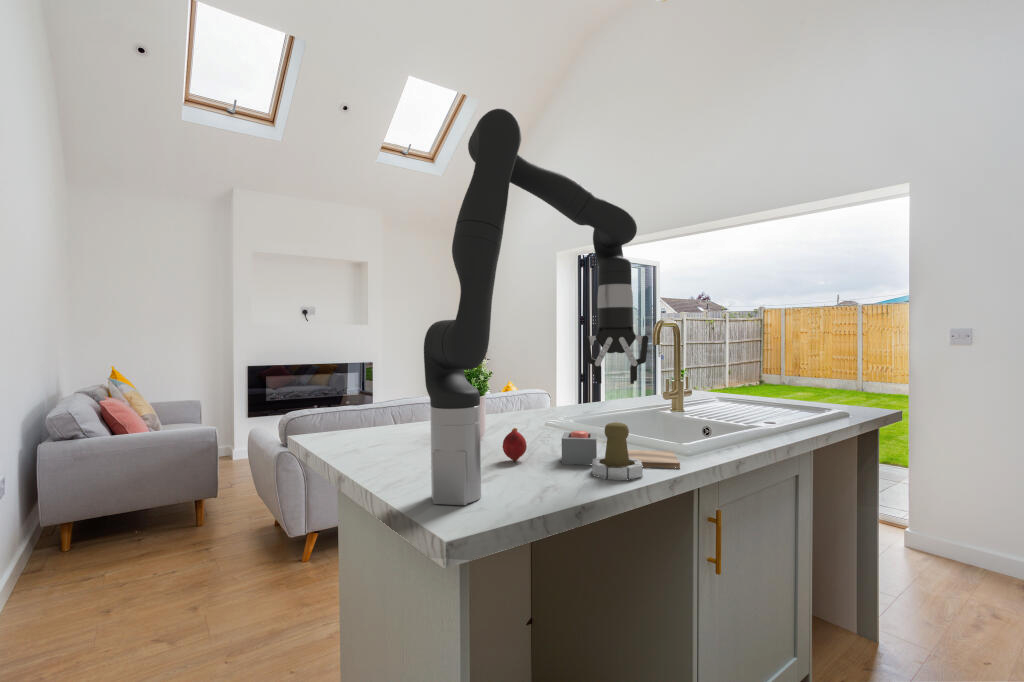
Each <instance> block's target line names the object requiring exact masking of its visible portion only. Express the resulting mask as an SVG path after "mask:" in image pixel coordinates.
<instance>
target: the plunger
mask: <svg viewBox="0 0 1024 682" xmlns="http://www.w3.org/2000/svg"><path fill="white" fill-rule="evenodd" d="M570 432H571V438H588V433H589V432H588V431H587V430H586V431H583V430H573V431H570Z"/></svg>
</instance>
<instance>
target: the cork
mask: <svg viewBox="0 0 1024 682" xmlns="http://www.w3.org/2000/svg"><path fill="white" fill-rule="evenodd" d="M629 434H630V429H629V427H628V425H627V424H626V423H623V422H617V421H615V422H609V423H607V424H606V425H605V426H604V436H605V437H606V438H607V439H606V445H605V446H606V447H605V454H604V456H605V461H604V465H608V466H624V467H625V466H630V463H629V455H628V450H629V448H628V442H627V439H628V437H629Z"/></svg>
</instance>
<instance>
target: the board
mask: <svg viewBox="0 0 1024 682" xmlns="http://www.w3.org/2000/svg"><path fill="white" fill-rule="evenodd" d="M628 455H629V457H630V458H634V459H638V460H640V461H641V462H642V466H643V467H642V468H649V467H663V468H662V469H681V463H680V461H679V460H678V457H677V456H676V455H675V453H674V451H671V450H646V449H645V450H639V449H628ZM675 467H676V468H675Z"/></svg>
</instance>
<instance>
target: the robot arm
mask: <svg viewBox="0 0 1024 682" xmlns="http://www.w3.org/2000/svg"><path fill="white" fill-rule="evenodd" d="M521 143H522V130H521V125H520V124H519V121H518V119H517V117H516V116H515V115H514V114H513V113H512V112H511V111H510V110H507V109H504V108H495V109H491V110H489V111H488V112H486V113H485V114H484V115H483V116H481V118H480V119H479V120H478V122H477V123H476V126H475V128H474V129H473V131H472V133H471V136H470V137H469V140H468V143H467V149H468V153H469V156H470V158H471V159H472V161H473V163H474V167H473V168H474V169H473V173H472V176H471V179H470V182H469V184H468V187H467V190H466V192H465V194H464V197H463V200H462V204H461V206H460V208H459V212H458V215H457V219H456V223H455V227H454V233H453V237H452V238H453V239H452V243H451V244H452V245H451V255H452V257H451V258H452V260H453V265H454V267H455V271H456V274H457V276H458V277H457V278H458V280H459V287H460V288H459V289H460V297H459V301H458V302H459V303H458V309H457V313H456V316H455V319H444V320H439V321H436V322H434V323H432V324H431V325H430V326H429V327H428V329H427V331H426V334H425V335H424V336H425V337H424V341H423V362H424V363H423V364H424V381H425V388H426V391H427V395H428V397H429V401H430V402H429V404H430V463H431V464H430V469H431V471H430V477H431V478H430V479H431V500H432V504H434V505H447V506H448V505H453V506H467V505H468V504H470V503H473V502H475V501H478V500H480V499H481V497H482V468H481V467H482V466H481V464H482V462H481V458H482V457H481V397H480V395H481V394H480V391H479V389H478V388H476V387H475V386H473V385H472V384H471V383H470V382H469V381H468V379H467V377H466V375H465V370H466V371H467V370H473V369H476V368H477V367H479V366H480V365H481V364H482V363H483V361H484V360H485V358H486V355H487V353H488V350H489V349H488V348H489V344H490V335H491V334H490V332H491V319H492V308H493V307H492V305H493V295H494V287H495V281H496V274H497V268H498V267H497V266H498V261H499V258H500V253H501V247H502V241H503V235H504V228H505V221H506V215H507V214H506V213H507V207H508V199H509V189H510V183H511V184H512V185H514V186H516V187H518V188H521V189H522V190H524V191H526V192H527V193H530V194H531V195H533V196H534V197H537V198H539V199H540V200H542V201H543V202H545V203H546V204H548V205H549V206H551V207H553V209H555V210H556V211H557V212H558V213H560V214H561V215H563V216H564V217H566V218H568V219H569V220H570V221H571V222H573V223H575V224H576V225H579V226H588V227H589V226H590V227H591V228H593V232H592V233H593V234H592V244H593V250H594V255H595V259H596V262H597V266H598V273H597V275H598V290H597V303H596V304H597V305H596V306H597V332H596V335H590V336H588V335H585V336H584V337H583V344H584V352H585V361H586V364H590V365H592V366H593V367H594V379H595V381H596V382H598V383H597V384H600V385H601V384H602V366H601V364H602V362H603V360H604V358H605V356H606V354H614V353H618V354H624V353H625V354H626V355H625V356H626V357H627V359H628V361H629V363H630V365H629V381H630V382H629V384H631V385H634V384H635V382H637V381H638V367H639V365H643V364H645V363H646V362H647V357H648V355H647V354H648V345H649V336H647V334H646V335H639V334H638V335H637V334H636V333H635V332H634V296H633V294H634V293H633V289H632V288H633V285H632V263H631V262H630V259H628V258H626V257H624V252H623V247H622V246H624V245H627V244H628V243H630V242H632V241H633V240H634V238H635V236H636V234H637V232H638V226H637V223H636V219H634V217H633V216H632V214H630V213H629V212H628V211H627V210H625V209H624V208H622V207H621V206H618V205H616V204H614V203H612V202H610V201H608V200H606V199H603V198H600V197H598V196H597V195H595V194H594V193H592V192H591V190H589V189H587V188H586V187H585V186H583V185H582V184H581V183H579V182H578V181H576V180H575V179H573V178H572V177H570V176H567V175H565V174H563V173H560V172H558V171H557V172H556V171H553V170H551V169H547V168H544V167H542V166H539V165H537V164H534V163H532V162H530V161H528V160H527V159H526V158H524V157H523V156H521V155H520V154H519V150H520V147H521ZM594 341H596V342H597V343H598V344H599V345H600V347H601V349H600V352H599V353H598V356H597V357H596V359H595V358H593V356H592V355H593V353H592V348H591V346H592V347H593V346H594V343H595V342H594ZM635 341H637V344H638V345H639V346H640V351H639V358H636V357H635V356H634V354H633V352H632V350H631V348H630V347H631V346H632V344H633V343H634V342H635Z"/></svg>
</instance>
